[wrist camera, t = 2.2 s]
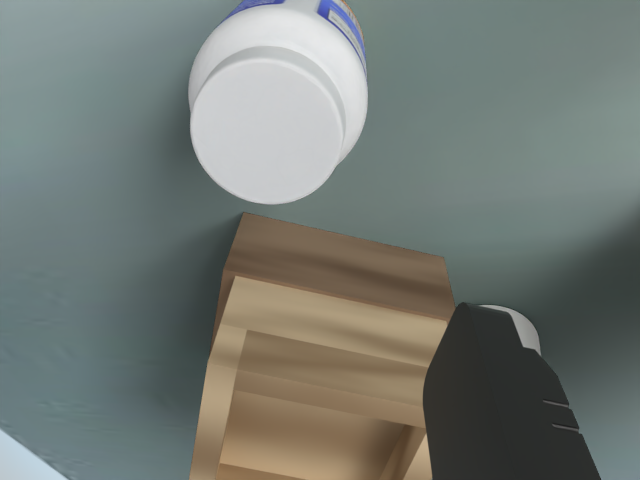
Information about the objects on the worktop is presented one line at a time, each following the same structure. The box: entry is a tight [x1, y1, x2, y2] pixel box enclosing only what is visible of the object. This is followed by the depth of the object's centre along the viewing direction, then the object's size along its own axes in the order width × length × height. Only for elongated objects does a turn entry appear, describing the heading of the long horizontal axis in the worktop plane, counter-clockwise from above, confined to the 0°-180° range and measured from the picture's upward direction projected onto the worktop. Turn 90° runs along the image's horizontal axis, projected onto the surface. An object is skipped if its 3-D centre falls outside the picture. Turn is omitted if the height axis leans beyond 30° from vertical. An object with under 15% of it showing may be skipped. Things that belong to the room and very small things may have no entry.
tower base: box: [209, 212, 456, 357], centre depth 28 cm, size 10×10×5 cm
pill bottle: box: [188, 0, 368, 205], centre depth 18 cm, size 5×5×10 cm
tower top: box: [189, 276, 447, 480], centre depth 23 cm, size 9×9×5 cm
